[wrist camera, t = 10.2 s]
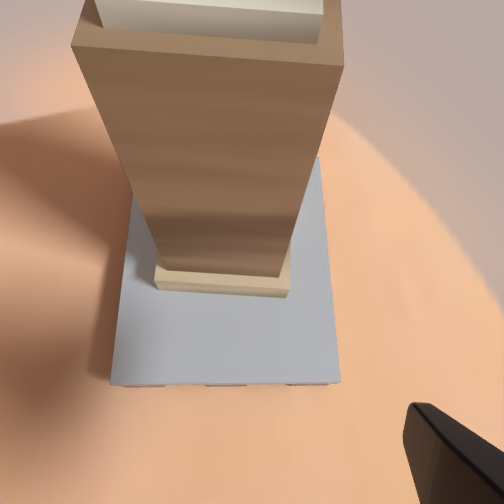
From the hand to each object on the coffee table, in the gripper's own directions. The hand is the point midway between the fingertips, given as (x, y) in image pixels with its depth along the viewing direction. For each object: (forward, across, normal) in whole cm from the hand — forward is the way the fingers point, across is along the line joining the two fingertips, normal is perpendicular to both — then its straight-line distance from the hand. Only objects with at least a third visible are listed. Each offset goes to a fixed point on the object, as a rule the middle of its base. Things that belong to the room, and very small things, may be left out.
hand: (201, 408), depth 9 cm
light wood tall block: (+12, 0, -1) cm, 12 cm away
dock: (+13, 0, +1) cm, 13 cm away
